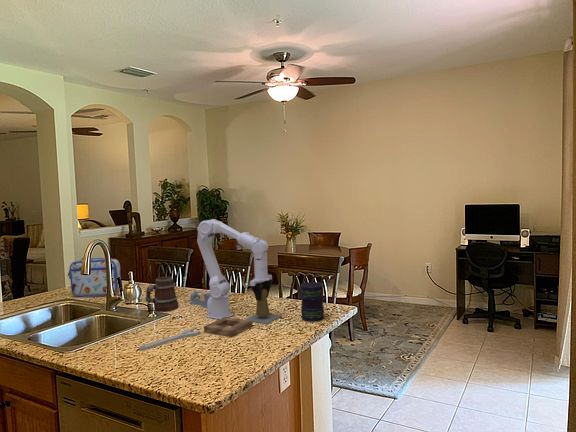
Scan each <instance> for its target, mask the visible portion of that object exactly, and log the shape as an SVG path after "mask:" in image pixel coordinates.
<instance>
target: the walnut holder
mask: <svg viewBox="0 0 576 432" xmlns="http://www.w3.org/2000/svg"><path fill="white" fill-rule="evenodd" d="M244 319H245V318H237V317H236V318H235V317H231V316H230V317H224V318H221V319H216V320H214V321H212V322H210V323H208V324H206V325H203V333H207V334H210V335H211V334H212V335H217V336H222V337H228V338H234V337H236V336H237V335H239V334H241V333H243V332H245V331H248V330H249V329H250V328H253V322H252V321H250V320H244Z"/></svg>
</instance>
